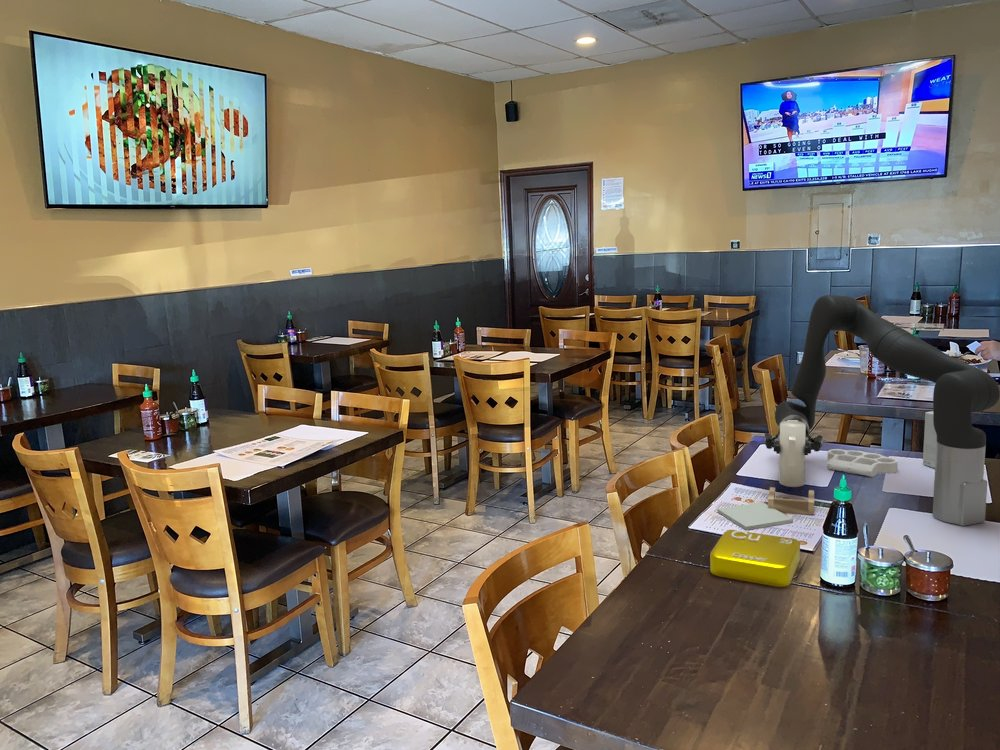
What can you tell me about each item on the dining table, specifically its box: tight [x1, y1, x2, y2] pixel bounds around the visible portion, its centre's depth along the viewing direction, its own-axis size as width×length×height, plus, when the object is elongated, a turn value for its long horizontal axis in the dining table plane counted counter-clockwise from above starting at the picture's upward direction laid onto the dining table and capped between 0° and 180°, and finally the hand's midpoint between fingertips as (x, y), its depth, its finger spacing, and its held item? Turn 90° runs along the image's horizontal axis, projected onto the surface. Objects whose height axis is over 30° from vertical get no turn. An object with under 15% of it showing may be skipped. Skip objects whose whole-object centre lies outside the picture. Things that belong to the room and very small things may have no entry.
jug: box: [778, 420, 806, 488], centre depth 182 cm, size 10×6×15 cm, turn 158°
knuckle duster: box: [826, 448, 899, 478], centre depth 205 cm, size 3×18×15 cm
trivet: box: [717, 501, 794, 531], centre depth 174 cm, size 12×12×1 cm
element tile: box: [709, 529, 801, 588], centre depth 150 cm, size 15×15×5 cm
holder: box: [767, 486, 815, 516], centre depth 179 cm, size 9×10×3 cm
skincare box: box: [922, 410, 937, 469], centre depth 201 cm, size 8×6×15 cm
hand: (792, 450), depth 181 cm, fingers closed on jug, 5 cm apart
